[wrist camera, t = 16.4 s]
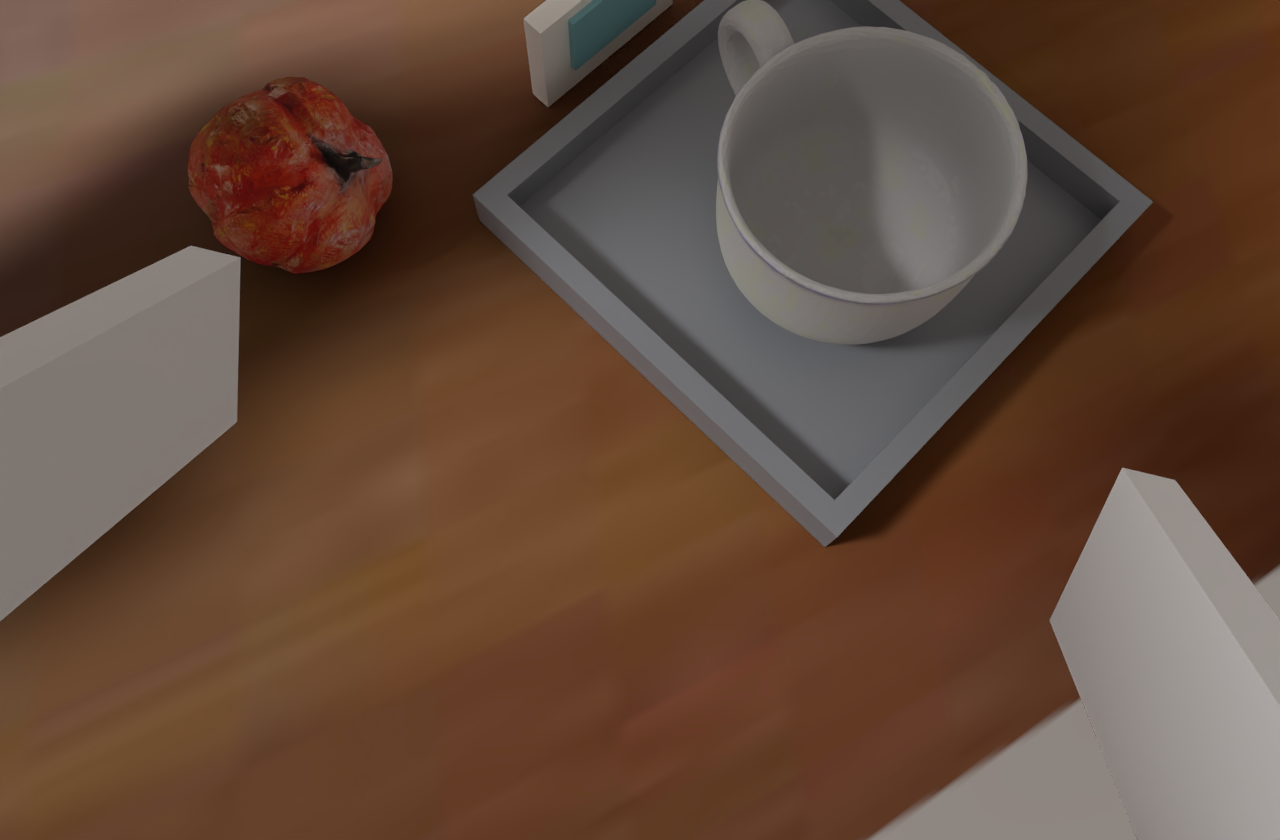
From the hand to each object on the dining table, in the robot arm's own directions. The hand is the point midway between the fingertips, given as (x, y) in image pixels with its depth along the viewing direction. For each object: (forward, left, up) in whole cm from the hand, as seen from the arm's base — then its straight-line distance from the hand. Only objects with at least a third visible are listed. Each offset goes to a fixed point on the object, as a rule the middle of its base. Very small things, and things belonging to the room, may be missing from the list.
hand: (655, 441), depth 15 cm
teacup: (-6, +17, -24) cm, 30 cm away
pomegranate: (-21, +2, -25) cm, 33 cm away
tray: (-6, +17, -24) cm, 31 cm away
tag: (-19, +17, -24) cm, 35 cm away
